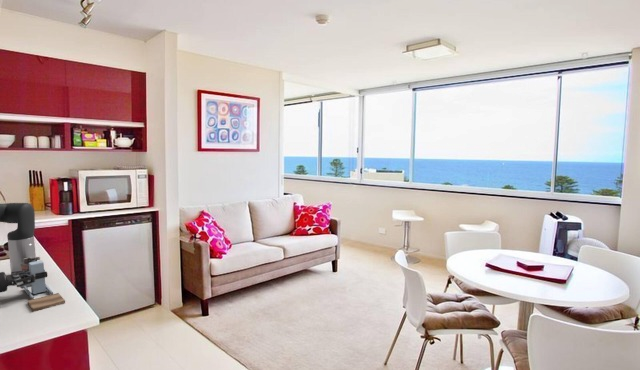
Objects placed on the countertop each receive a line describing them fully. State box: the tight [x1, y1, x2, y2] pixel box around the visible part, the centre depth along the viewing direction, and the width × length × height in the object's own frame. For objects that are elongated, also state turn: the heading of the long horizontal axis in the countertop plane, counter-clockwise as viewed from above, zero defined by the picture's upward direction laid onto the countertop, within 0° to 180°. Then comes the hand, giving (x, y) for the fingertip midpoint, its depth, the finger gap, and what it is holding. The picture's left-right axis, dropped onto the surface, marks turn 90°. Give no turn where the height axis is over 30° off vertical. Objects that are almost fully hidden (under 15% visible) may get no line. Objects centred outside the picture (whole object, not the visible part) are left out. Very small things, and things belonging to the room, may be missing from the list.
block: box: [29, 260, 47, 295], centre depth 144 cm, size 4×4×12 cm
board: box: [27, 292, 66, 312], centre depth 135 cm, size 10×10×1 cm
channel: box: [23, 282, 54, 300], centre depth 145 cm, size 16×7×2 cm, turn 48°
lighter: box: [21, 256, 41, 271], centre depth 159 cm, size 8×3×10 cm, turn 105°
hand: (45, 272), depth 146 cm, fingers closed on block, 4 cm apart
